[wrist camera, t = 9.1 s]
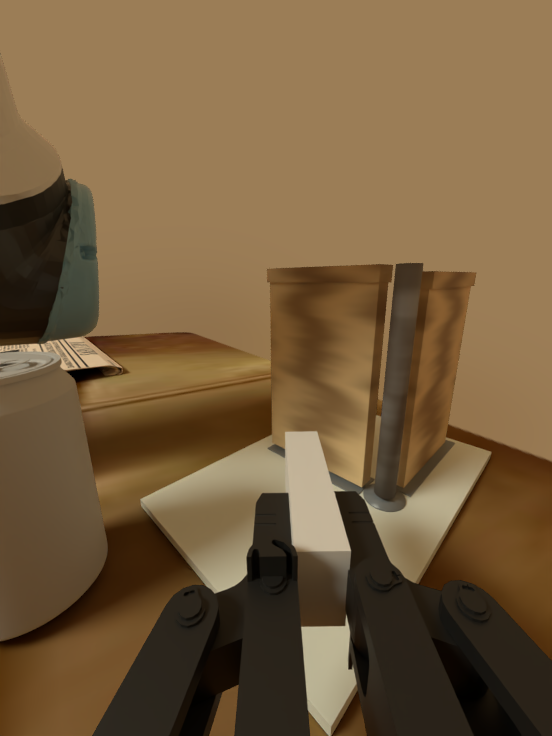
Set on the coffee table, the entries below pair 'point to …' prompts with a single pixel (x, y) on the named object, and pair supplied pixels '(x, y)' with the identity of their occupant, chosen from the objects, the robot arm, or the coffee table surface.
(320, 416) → the fence panel
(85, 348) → the newspaper
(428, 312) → the panel
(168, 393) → the coffee table surface
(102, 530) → the beverage can
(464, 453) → the mat
